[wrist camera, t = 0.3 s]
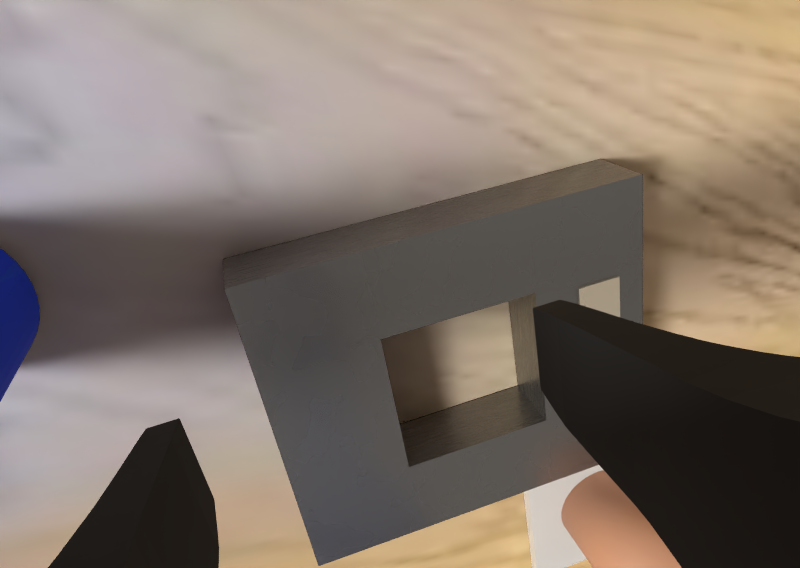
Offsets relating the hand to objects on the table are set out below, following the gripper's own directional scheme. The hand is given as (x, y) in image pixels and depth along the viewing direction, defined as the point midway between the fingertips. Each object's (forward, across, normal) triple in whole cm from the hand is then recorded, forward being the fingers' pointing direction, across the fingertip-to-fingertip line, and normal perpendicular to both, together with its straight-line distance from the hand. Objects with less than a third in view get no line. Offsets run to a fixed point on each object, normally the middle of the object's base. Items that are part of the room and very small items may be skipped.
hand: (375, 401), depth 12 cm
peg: (+9, -10, +16) cm, 21 cm away
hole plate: (+10, -4, +6) cm, 12 cm away
